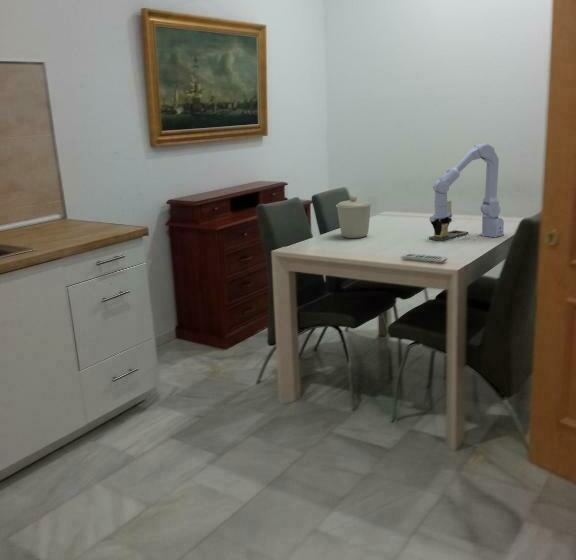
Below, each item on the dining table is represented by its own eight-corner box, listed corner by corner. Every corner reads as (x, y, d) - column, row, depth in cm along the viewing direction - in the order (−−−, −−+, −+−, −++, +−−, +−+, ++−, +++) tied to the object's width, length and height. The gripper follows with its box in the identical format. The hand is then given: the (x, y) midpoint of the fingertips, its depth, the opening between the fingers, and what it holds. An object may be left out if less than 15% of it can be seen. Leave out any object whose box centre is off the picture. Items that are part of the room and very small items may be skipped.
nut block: (447, 238, 305) (447, 222, 303) (441, 240, 302) (441, 224, 300) (440, 237, 308) (440, 222, 306) (434, 239, 306) (434, 223, 304)
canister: (371, 239, 314) (370, 197, 308) (335, 240, 318) (333, 198, 312) (373, 232, 331) (372, 192, 325) (339, 233, 335) (337, 193, 329)
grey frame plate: (468, 234, 312) (468, 231, 311) (442, 241, 300) (442, 238, 299) (454, 232, 318) (454, 230, 318) (428, 239, 306) (428, 236, 306)
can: (447, 223, 343) (447, 201, 340) (431, 222, 349) (431, 200, 346) (454, 220, 350) (454, 198, 347) (438, 219, 356) (438, 198, 353)
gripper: (443, 203, 308) (443, 230, 312) (424, 207, 300) (424, 235, 303) (455, 204, 303) (455, 232, 307) (436, 208, 295) (436, 237, 298)
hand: (441, 234), depth 305 cm, fingers closed on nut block, 4 cm apart
